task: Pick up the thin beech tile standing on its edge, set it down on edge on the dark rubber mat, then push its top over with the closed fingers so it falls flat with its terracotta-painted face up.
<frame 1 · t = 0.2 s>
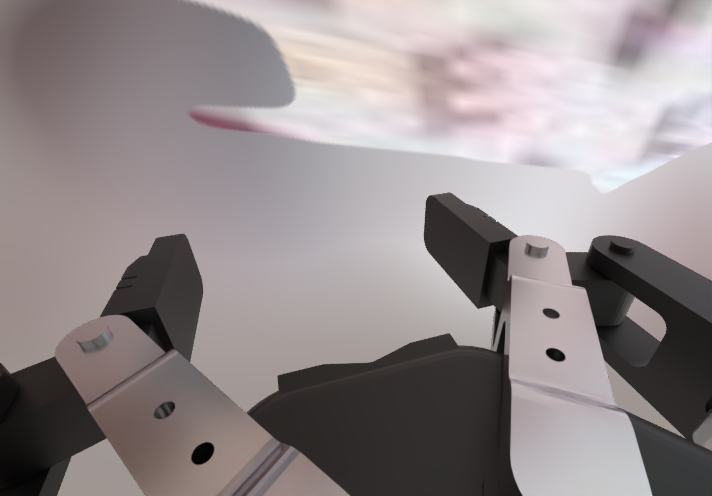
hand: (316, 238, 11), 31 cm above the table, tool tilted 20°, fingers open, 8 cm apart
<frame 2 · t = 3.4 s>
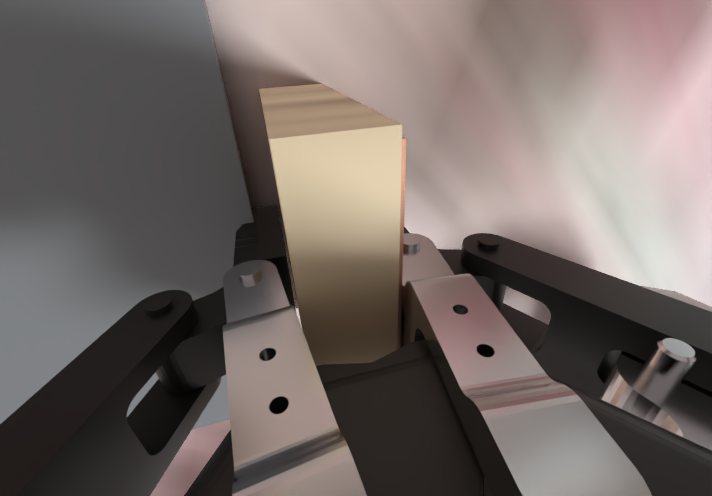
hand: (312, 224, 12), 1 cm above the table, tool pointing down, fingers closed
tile: (308, 213, 13), on the table, touching gripper
donut: (576, 316, 22), on the table
mat: (55, 281, 12), on the table
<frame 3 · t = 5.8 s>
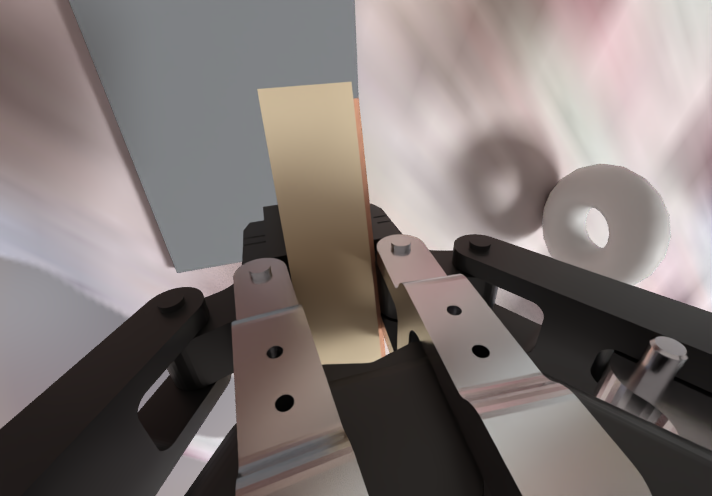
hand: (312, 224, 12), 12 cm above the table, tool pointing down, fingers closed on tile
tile: (305, 229, 15), point 10 cm above the table, tilted 16°, touching gripper
donut: (548, 202, 31), on the table
mat: (250, 131, 22), on the table
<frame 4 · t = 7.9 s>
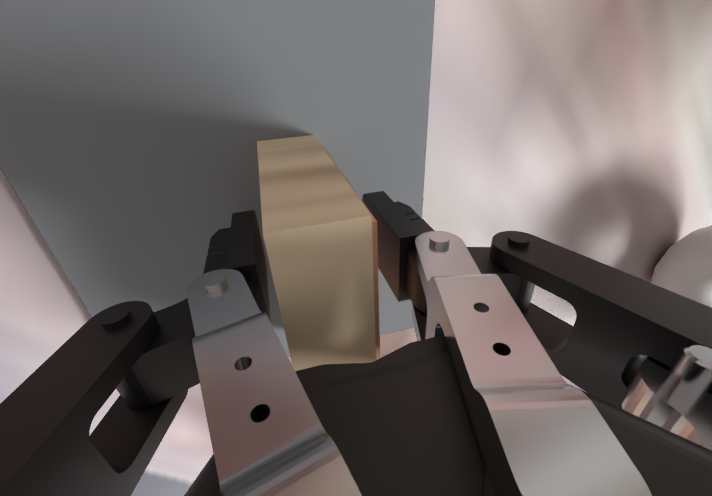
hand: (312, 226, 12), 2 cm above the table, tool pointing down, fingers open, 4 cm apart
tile: (302, 246, 14), point 1 cm above the table, touching mat
donut: (658, 260, 23), on the table
mat: (250, 185, 13), on the table
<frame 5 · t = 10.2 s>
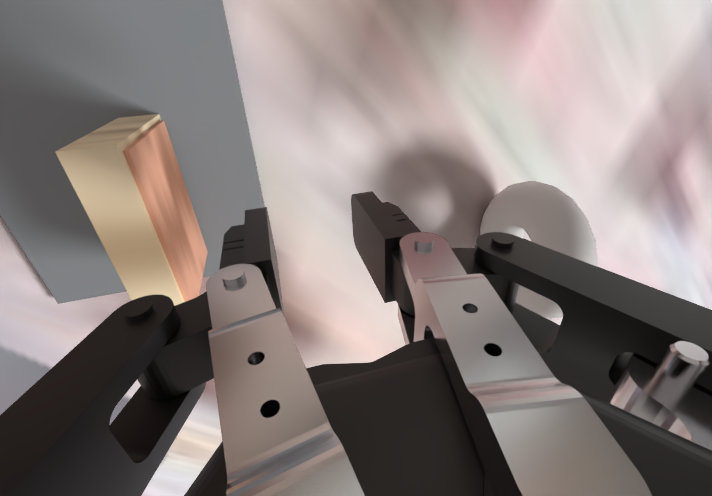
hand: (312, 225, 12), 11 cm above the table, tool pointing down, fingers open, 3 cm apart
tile: (167, 194, 20), point 1 cm above the table, touching mat
donut: (487, 220, 29), on the table
mat: (123, 149, 19), on the table
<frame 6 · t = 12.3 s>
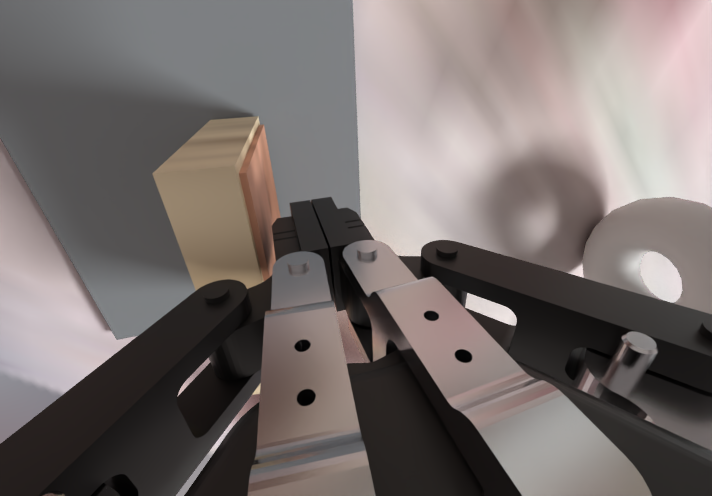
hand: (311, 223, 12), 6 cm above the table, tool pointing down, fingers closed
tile: (255, 213, 17), point 1 cm above the table, tilted 6°, touching mat
donut: (590, 237, 26), on the table
mat: (208, 158, 16), on the table
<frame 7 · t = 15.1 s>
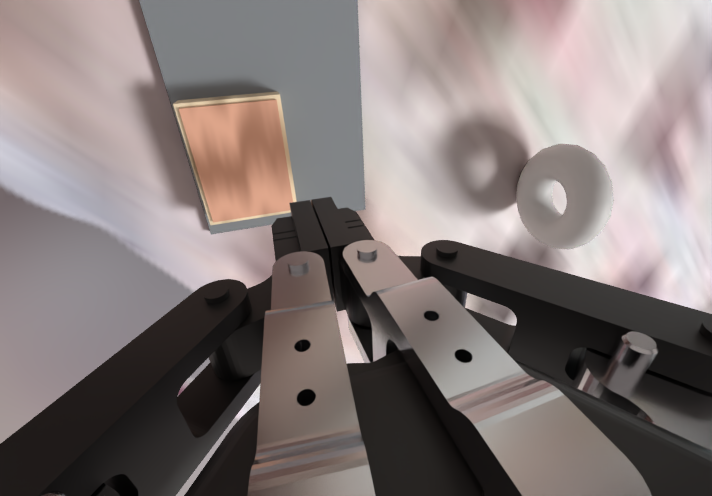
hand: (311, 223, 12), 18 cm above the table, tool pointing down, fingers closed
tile: (288, 154, 27), point 2 cm above the table, tilted 90°, touching mat
donut: (522, 180, 37), on the table
mat: (274, 115, 27), on the table
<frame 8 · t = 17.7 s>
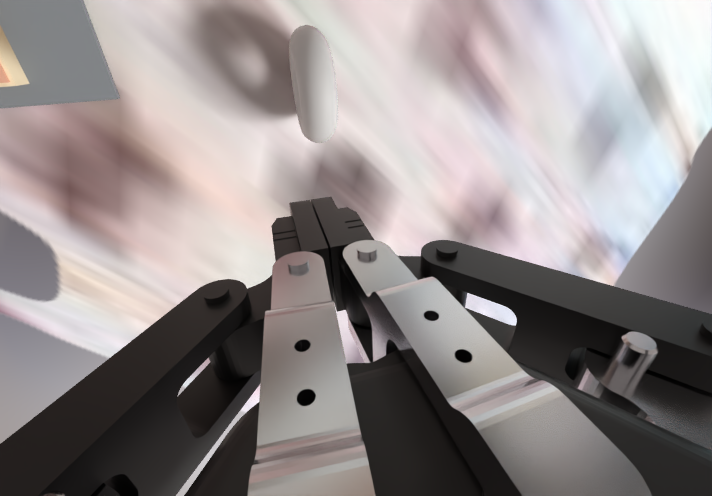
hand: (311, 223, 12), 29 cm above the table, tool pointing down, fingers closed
donut: (305, 83, 36), on the table
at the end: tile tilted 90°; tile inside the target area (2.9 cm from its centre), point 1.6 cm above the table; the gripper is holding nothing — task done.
